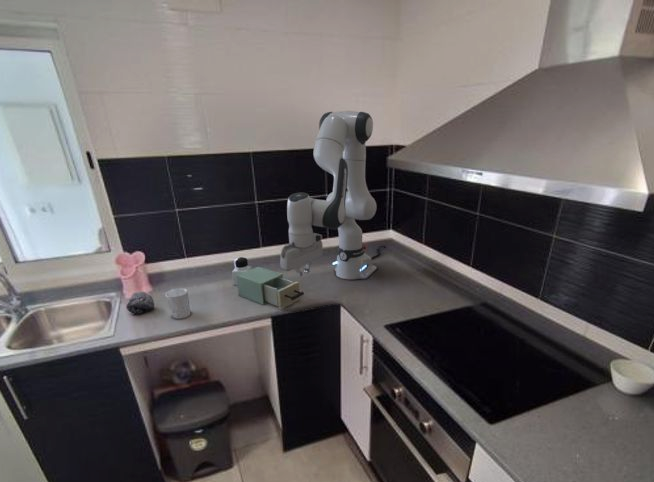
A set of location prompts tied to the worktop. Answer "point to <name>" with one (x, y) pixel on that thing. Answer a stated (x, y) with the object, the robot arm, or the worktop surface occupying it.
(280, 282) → the drawer with handle
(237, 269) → the astronaut figurine
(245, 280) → the drawer cabinet
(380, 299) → the worktop surface
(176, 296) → the white cup
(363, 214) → the robot arm
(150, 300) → the pumice stone
